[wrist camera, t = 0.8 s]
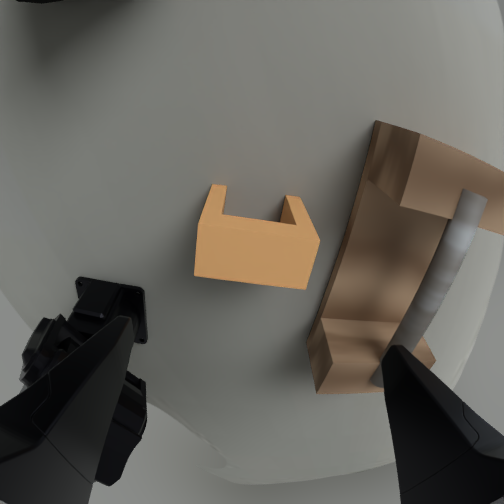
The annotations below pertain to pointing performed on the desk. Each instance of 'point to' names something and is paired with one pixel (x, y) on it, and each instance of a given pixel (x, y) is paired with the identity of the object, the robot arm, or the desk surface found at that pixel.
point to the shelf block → (399, 255)
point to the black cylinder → (38, 1)
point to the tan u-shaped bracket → (255, 245)
